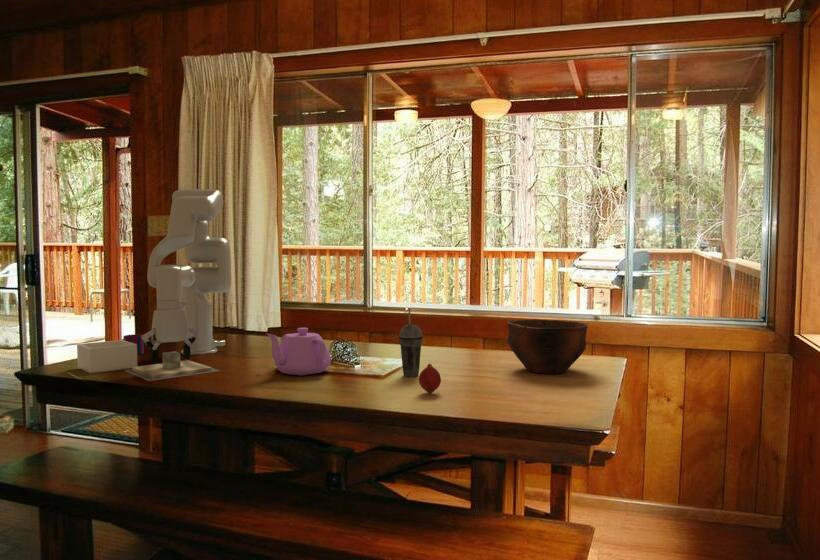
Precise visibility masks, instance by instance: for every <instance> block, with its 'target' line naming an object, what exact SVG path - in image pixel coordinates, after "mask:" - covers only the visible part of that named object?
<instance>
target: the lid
mask: <svg viewBox="0 0 820 560" xmlns="http://www.w3.org/2000/svg"><path fill="white" fill-rule="evenodd" d="M212 368H213V367H211V366H208V365H205V364H202V363H198V362H195V361H192V360H189V359H185V360H181V353H180V352H178V351H168V352H162V363H155V364H145V365H137V367H132V368H131V369H132V370H133V371H135V372H137V373H140V374H142V375H145V376H147V377H150V378H152V379H156V378H163V377H170V376H178V375H185V374H192V373H199V372H206V371H212Z"/></svg>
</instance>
